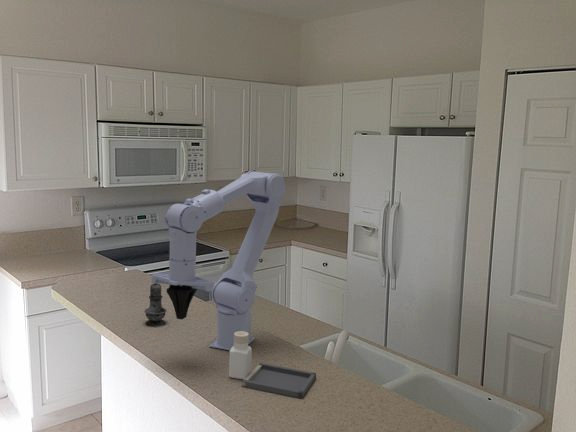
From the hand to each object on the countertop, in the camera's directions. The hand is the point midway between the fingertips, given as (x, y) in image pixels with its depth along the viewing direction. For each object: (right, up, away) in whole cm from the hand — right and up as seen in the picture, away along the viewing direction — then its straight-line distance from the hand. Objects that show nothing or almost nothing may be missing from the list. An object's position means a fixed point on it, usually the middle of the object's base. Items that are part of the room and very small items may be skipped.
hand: (181, 317), depth 119 cm
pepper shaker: (+13, -12, -4) cm, 18 cm away
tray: (+22, -12, -7) cm, 26 cm away
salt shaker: (-12, -7, +25) cm, 29 cm away
